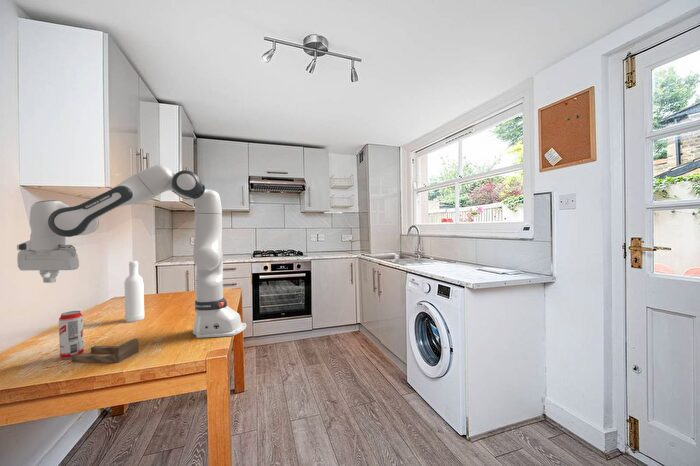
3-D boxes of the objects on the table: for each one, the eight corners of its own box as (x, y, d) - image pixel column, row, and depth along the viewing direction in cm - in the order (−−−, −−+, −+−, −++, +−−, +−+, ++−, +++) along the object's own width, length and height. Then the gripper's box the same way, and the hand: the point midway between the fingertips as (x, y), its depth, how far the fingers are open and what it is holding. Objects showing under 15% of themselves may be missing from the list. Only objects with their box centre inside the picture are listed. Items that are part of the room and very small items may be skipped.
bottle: (148, 317, 148) (147, 260, 148) (135, 322, 140) (134, 262, 140) (134, 317, 149) (133, 260, 148) (120, 322, 141) (119, 262, 141)
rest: (138, 351, 106) (138, 338, 106) (119, 362, 98) (118, 348, 97) (94, 351, 107) (94, 338, 107) (71, 361, 99) (71, 347, 98)
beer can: (62, 361, 99) (61, 316, 98) (57, 357, 102) (56, 313, 102) (86, 354, 104) (85, 311, 104) (80, 350, 107) (79, 309, 107)
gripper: (83, 244, 105) (84, 280, 106) (33, 244, 107) (34, 280, 107) (65, 245, 99) (67, 284, 99) (12, 245, 100) (13, 284, 100)
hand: (49, 282), depth 103 cm, fingers closed
